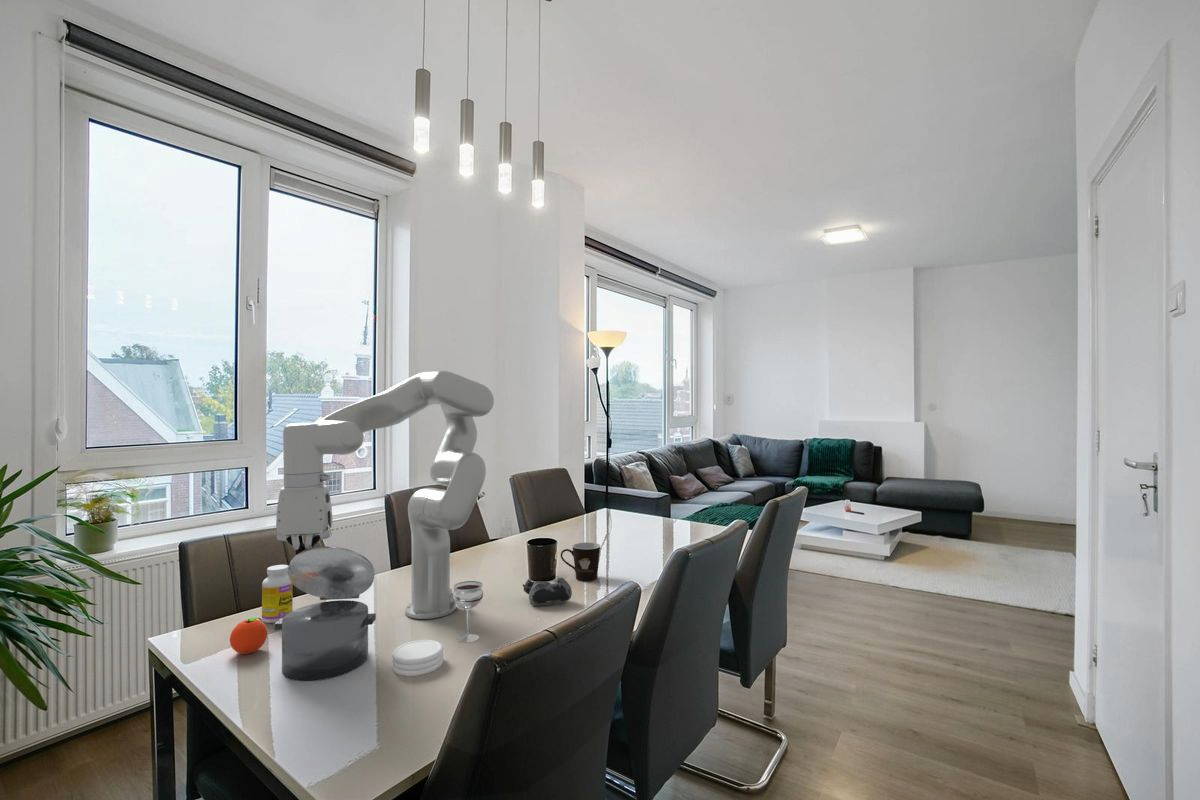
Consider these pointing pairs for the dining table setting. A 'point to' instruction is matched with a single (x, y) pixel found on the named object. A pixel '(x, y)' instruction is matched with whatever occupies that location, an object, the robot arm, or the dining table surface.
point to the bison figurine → (548, 592)
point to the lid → (331, 573)
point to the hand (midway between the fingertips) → (304, 566)
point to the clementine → (248, 636)
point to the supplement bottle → (276, 594)
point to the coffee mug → (585, 560)
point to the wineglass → (468, 603)
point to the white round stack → (417, 657)
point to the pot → (324, 639)
